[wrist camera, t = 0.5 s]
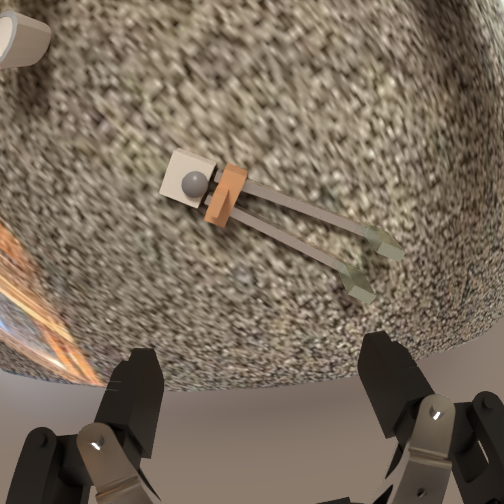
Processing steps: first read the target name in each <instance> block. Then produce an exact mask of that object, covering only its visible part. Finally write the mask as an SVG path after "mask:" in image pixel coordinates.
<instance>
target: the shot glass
mask: <svg viewBox="0 0 504 504" xmlns="http://www.w3.org/2000/svg"><path fill="white" fill-rule="evenodd" d="M50 40H51V31H50V27H49V26H48V25H46V24H45V23H43V22H40V21H38V20H35V19H33V18H30V17H27V16H25V15H22V14H19V13H17V12H14V11H5V12H3V13H2V14H0V69H7V68H14V67H23V66H30V65H33V64H35V63H37V62H38V61H39V60H40V59H41V58H42V57H43V55H44V54H45V52H46V51H47V49H48V46H49V43H50Z"/></svg>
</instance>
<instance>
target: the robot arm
mask: <svg viewBox="0 0 504 504" xmlns="http://www.w3.org/2000/svg"><path fill="white" fill-rule="evenodd" d="M358 373H359V376H360V379H361V381H362V383H363V386H364V388H365V390H366V392H367V395H368V397H369V399H370V402H371V404H372V406H373V409H374V411H375V414H376V416H377V418H378V421H379V423H380V426H381V428H382V430H383V433H384V435H385V438H386V439H387V438H391V437H394V436H396V438H397V440H398V442H397V443H396V446H395V449H394V451H393V454H392V457H391V459H390V462H389V464H388V467H387V469H386V471H385V474H384V476H383V478H382V481H381V483H380V485H379V486H378V488H377V490H376V491H375V493H374V494H373V496H372V498H371V500H370V502H369V504H442V502H443V498H444V495H445V492H446V488H447V484H448V481H449V477H450V473H451V470H452V472H453V475H454V477H455V480H456V483H457V485H458V488H459V491H460V494H461V497H462V500H463V502H464V504H504V405H503V403H502V402H501V400H500V399H499V397H498V396H497V395H495V394H494V393H492V392H488V391H483V392H480V393H478V394H477V395H476V396H475V398H474V399H473V401H472V402H464V403H453V402H452V401H451V400H450V399H449V398H447V397H446V396H443V395H440V394H435V393H434V391H433V390H432V388H431V386H430V385H429V383H428V382H427V380H426V378H425V377H424V375H423V373H422V372H421V370H420V369H419V367H417V364H416V362H415V361H414V359H412V356H411V355H410V353H409V352H408V350H407V349H406V348H405V347H404V346H402V345H401V344H400V343H398V342H397V341H395V342H392V341H391V339H390V338H389V336H388V335H387V333H386V332H385V331H379V332H373V333H367V334H365V335H364V338H363V343H362V347H361V351H360V355H359V359H358ZM106 389H107V390H106V391H105V393H104V396H103V398H102V401H101V404H100V407H99V409H98V412H97V415H96V418H95V420H94V422H93V423H91V424H88V425H86V426H84V427H83V428H82V429H81V430H80V431H79V433H78V434H75V435H64V436H56V435H55V434H54V433H53V431H52V430H50V429H49V428H46V427H38V428H36V429H34V430H32V431H31V432H30V433H29V434H28V436H27V438H26V440H25V443H24V446H23V448H22V451H21V454H20V457H19V460H18V463H17V466H16V469H15V472H14V475H13V478H12V482H11V485H10V489H9V492H8V496H7V500H6V504H88V499H89V493H90V487H91V486H93V485H95V487H96V490H97V492H98V494H96V496H95V497H96V500H97V503H98V504H165V503H164V501H163V500H162V499H161V497H160V496H159V494H158V493H157V492H156V490H155V489H154V487H153V486H152V484H151V483H150V481H149V480H148V478H147V477H146V475H145V474H144V472H143V471H142V469H141V468H140V461H141V458H150V459H151V454H152V448H153V443H154V438H155V432H156V427H157V421H158V417H159V412H160V406H161V402H162V397H163V392H164V377H163V374H162V371H161V368H160V365H159V362H158V359H157V356H156V353H155V351H154V349H153V348H134V349H133V350H132V353H131V355H130V358H129V361H121V362H120V364H119V365H118V366H117V367H116V368H115V369H114V370H113V373H112V375H111V378H110V382H109V383H108V385H107V388H106ZM479 440H480V442H481V444H482V447H483V449H484V451H485V453H486V455H487V457H488V461H489V464H488V462H487V460H486V458H485V456H484V454H483V451H482V449H481V447H480V445H479V443H478V441H479ZM317 504H363V503H351V502H350V499H349V497H346V498H341V499H337V500H332V501H328V502H322V503H317Z"/></svg>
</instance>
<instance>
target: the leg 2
mask: <svg viewBox="0 0 504 504" xmlns="http://www.w3.org/2000/svg"><path fill="white" fill-rule="evenodd" d="M213 195H214V193H213V192H211V191H210V192H209V194H208V196H207V198H206V200H205V202H204V204H206V205H208V206H209V204H210V202H211V199H212V197H213ZM229 216H231V217H233V218H235V219H237V220H239V221H241V222H243V223H245V224H247V225H249V226H251V227H253V228H255V229H257V230H259V231H261V232H263V233H265V234H267V235H269V236H271V237H273V238H275V239H277V240H279V241H281V242H283V243H285V244H287V245H289V246H291V247H293V248H295V249H297V250H299V251H301V252H303V253H305V254H307V255H309V256H310V257H312V258H314V259H316V260H318V261H320V262H322V263H324V264H326V265H328V266H330V267H332V268H334V269H336V270H337V271H338V273H339V275H340V277H341V280H342V282H343V284H344V287H345V289H346V291H347V293H348V295H351V296H353V297H355V298H357V299H359V300H361V301H363V302H365V303H367V304H370V303H371V302H372V301H373V299H374V298H375V297H376V294H375V293H374V291H373V289H372V287H371V285H370V284H369V282H368V280H367V278H366V277H365V275H364V273H363V271H361V270H360V269H358V268H356V267H354V266H352V265H350V264H349V263H347V262H345V261H344V260H343V259H341V258H339V257H337V256H336V255H334V254H332V253H330V252H328V251H326V250H324V249H323V248H321V247H319V246H317V245H315V244H313V243H311V242H309V241H308V240H306V239H304V238H302V237H300V236H298V235H296V234H294V233H292V232H290V231H288V230H286V229H285V228H283V227H281V226H279V225H277V224H275V223H273V222H271V221H269V220H267V219H265V218H263V217H261V216H259V215H257V214H255V213H253V212H251V211H249V210H247V209H245V208H243V207H241V206H239V205H237V204H234V206H233V209H232V211H231V213H230V215H229Z"/></svg>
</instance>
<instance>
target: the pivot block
mask: <svg viewBox="0 0 504 504" xmlns="http://www.w3.org/2000/svg"><path fill="white" fill-rule="evenodd" d="M216 164H217V163H216V162H214V161H211V160H209V159H206V158H204V157H201V156H199V155H196V154H194V153H191V152H188V151H186V150H183V149H180V148H178V149H176V150H174V152H173V154H172V157H171V160H170V163H169V165H168V168H167V171H166V174H165V177H164V180H163V183H162V186H161V189H160V192H159V194H162V195H165V196H167V197H170V198H172V199H175V200H177V201H180V202H182V203H185V204H187V205H190V206H192V207H195V208H198V206H199V205H200V203H201V201H202V198H203V196H204V194H205V192H206V191H207V189H208V183H209V181H210V178H211V176H212V173H213V171H214V169H215V166H216Z"/></svg>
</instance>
